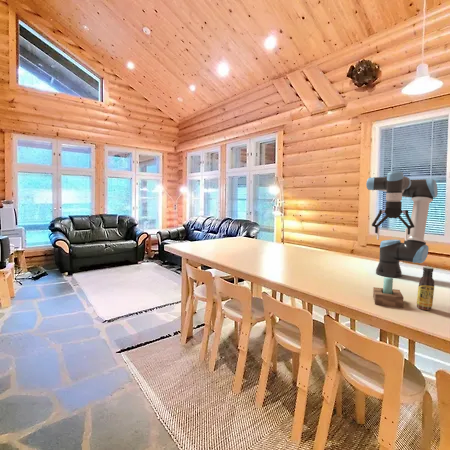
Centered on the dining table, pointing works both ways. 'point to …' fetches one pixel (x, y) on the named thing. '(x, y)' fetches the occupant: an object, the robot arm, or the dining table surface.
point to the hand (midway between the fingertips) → (391, 240)
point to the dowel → (387, 285)
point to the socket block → (388, 297)
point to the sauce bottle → (426, 290)
